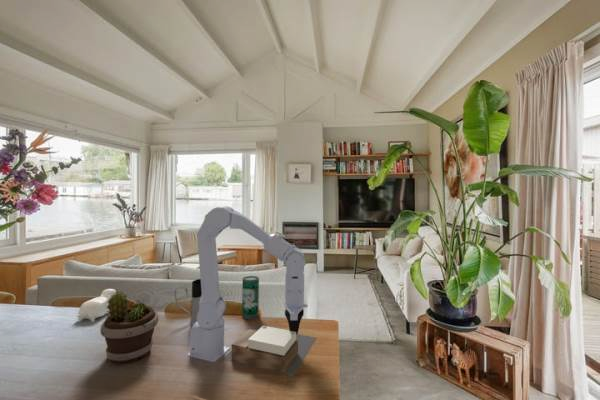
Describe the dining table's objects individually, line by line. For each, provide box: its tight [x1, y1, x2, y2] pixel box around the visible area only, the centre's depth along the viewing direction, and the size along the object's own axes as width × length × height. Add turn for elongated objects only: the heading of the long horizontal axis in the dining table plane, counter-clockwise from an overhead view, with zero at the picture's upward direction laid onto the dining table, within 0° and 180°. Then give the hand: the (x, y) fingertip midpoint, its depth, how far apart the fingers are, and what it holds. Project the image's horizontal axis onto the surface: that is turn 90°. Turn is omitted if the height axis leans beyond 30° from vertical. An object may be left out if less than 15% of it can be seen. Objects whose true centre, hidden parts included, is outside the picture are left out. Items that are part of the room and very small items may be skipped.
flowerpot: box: [99, 289, 159, 364], centre depth 82 cm, size 14×15×20 cm
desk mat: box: [221, 326, 317, 378], centre depth 86 cm, size 22×22×1 cm
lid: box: [248, 325, 296, 356], centre depth 80 cm, size 11×9×3 cm
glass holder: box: [174, 278, 202, 326], centre depth 105 cm, size 9×14×15 cm, turn 103°
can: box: [241, 275, 260, 320], centre depth 110 cm, size 6×6×15 cm
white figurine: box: [76, 288, 117, 323], centre depth 110 cm, size 9×8×15 cm
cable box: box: [231, 328, 298, 373], centre depth 81 cm, size 16×10×5 cm, turn 70°
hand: (293, 334), depth 84 cm, fingers closed
